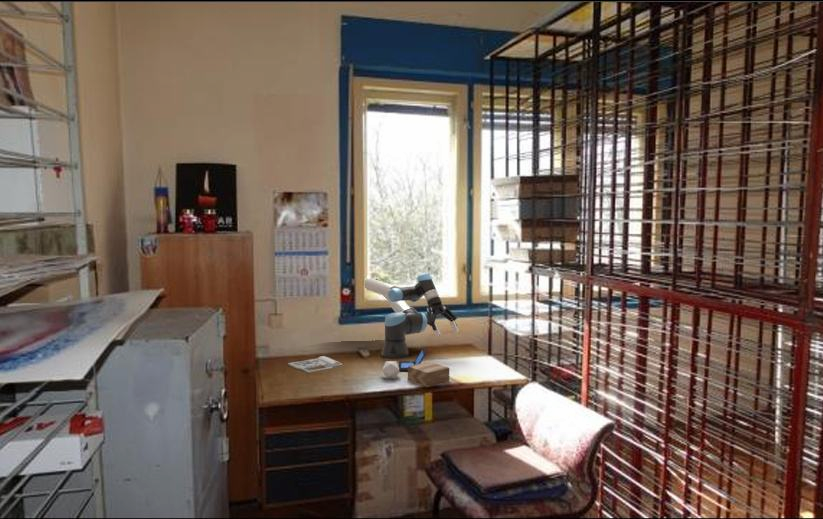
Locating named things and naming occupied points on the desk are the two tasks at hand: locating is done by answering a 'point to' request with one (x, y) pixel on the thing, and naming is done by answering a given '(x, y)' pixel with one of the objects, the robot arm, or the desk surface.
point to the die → (391, 369)
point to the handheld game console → (411, 362)
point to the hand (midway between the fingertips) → (447, 334)
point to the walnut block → (428, 374)
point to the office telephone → (315, 364)
